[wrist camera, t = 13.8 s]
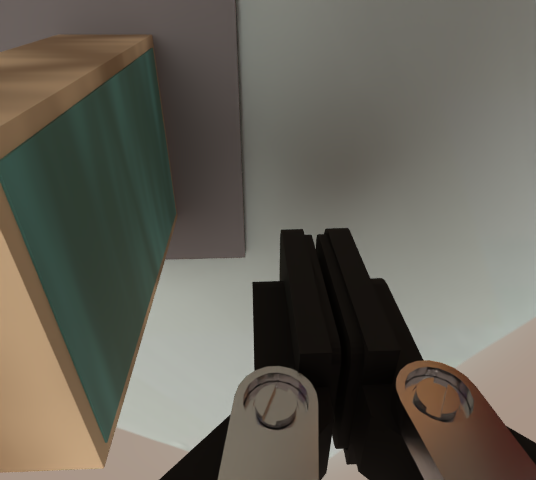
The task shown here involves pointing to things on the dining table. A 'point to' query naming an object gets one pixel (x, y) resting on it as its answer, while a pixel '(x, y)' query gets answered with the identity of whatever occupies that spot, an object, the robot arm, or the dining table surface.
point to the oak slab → (77, 240)
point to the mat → (172, 100)
